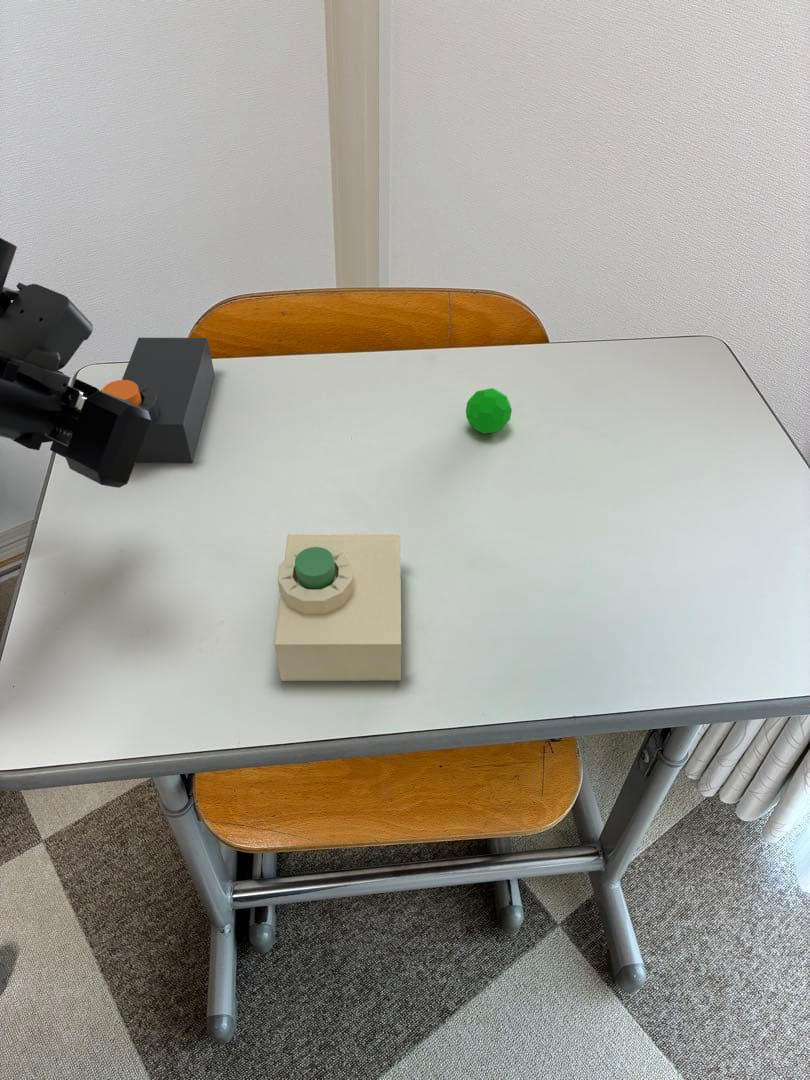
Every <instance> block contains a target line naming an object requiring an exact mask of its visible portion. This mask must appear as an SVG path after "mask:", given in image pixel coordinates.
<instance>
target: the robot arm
mask: <svg viewBox="0 0 810 1080" xmlns="http://www.w3.org/2000/svg"><path fill="white" fill-rule="evenodd" d="M17 249H18V246H16V245H15V244H13V243H12V242H10V241H8V240H6V239H4V238H1V237H0V438H5V439H9V440H11V441H13V442H14V443H17V444H19V445H21V446H22V447H25V448H27V449H30V450H35V451H40V450H41V447H42V444H45V443H51V444H50V448H49V450H50V451H51V452H53V453H55V454H57V455H59V456H61V457H62V458H65V460H66V463H67V465H68V468H69V469H70V470H72V471H74V472H76V473H78V474H79V475H81V476H83V477H85V478H86V479H89V480H91V481H93V482H95V483H97V484H99V485H101V486H105V487H112V488H117V489H120V488H122V487H124V486H127V484H128V483H129V481H130V478H131V475H132V472H133V470H134V467H135V465H136V463H135V462H136V459H137V457H138V454H139V451H140V449H141V446H142V443H143V441H144V438H145V435H146V433H147V430H148V427H149V425H150V422H151V418H150V415H149V412H148V410H146V409H143V408H141V407H139V406H137V405H135V404H132V403H130V402H128V401H126V400H124V399H121V398H118V397H116V396H113V395H111V394H108V393H105V392H101V390H100V389H99V388H98V387H95V385H92V384H89V383H87V382H85V381H83V380H81V379H78V378H74V382H73V385H69V383H70V380H71V376H69V375H67V374H65V373H63V371H60V370H62V369H63V368H64V367H65V366H67V364H68V363H69V362H70V361H71V359H72V358H73V356H74V355H75V353H76V352H77V351H78V349H79V348H80V346H81V345H82V344H83V343H84V341H87V340H88V339H89V338H90V337H91V335H92V333H93V330H94V325H93V324H92V322H91V321H90V320H89V319H88V317H86V316H85V314H84V313H83V312H82V311H81V310H80V309H79V308H78V307H77V306H76V305H75V304H74V303H73V302H72V300H70V299H69V298H68V297H67V296H66V294H65V295H64V294H62V293H60V292H57V291H55V290H52V289H50V288H47V287H45V286H42V285H40V284H37V283H32V284H28V285H27V284H24V283H22V282H18V283H17V284H16V285H15V286H16V289H18V290H14V289H11V288H8V287H6V286H5V283H6V280H7V277H8V274H9V273H10V269H11V266H12V264H13V260H14V257H15V254H16V252H17Z"/></svg>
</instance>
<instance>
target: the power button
mask: <svg viewBox="0 0 810 1080" xmlns="http://www.w3.org/2000/svg"><path fill="white" fill-rule="evenodd" d="M295 569H296V576H297V580H298V582H299V583H300V584H301V585H302V586H303V587H305V588H308V589H322V588H325V587H327V586H328V585H330V584H331V583H332V582H333V580H334V578H335V561H334V557H333V555H332V554H331V552H330V551H328V550H327V549H324V548H321V547H311V548H307V549H305V550H303V551H301V552H300V553H299V554H298V555H297V557H296V559H295Z"/></svg>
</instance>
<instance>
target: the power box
mask: <svg viewBox="0 0 810 1080" xmlns="http://www.w3.org/2000/svg"><path fill="white" fill-rule="evenodd" d="M286 537H287V538H286V544H285V545H286V546H285V553H284V554H285V555H284V559H283V560H282V562H280V564H279V566H278V575H277V583H278V589H279V594H280V596H279V604H278V611H277V619H276V626H275V627H276V629H275V636H274V650H275V655H276V660H277V661H276V662H277V667H278V670H279V671H278V672H279V677H280V681H281V682H288V681H289V682H319V681H321V682H325V681H326V682H327V681H330V682H331V681H333V682H336V681H338V682H339V681H342V682H344V681H353V682H354V681H357V682H358V681H359V682H360V681H361V682H362V681H363V682H364V681H371V682H372V681H401V679H402V586H401V585H402V582H401V578H402V577H401V535H400V534H287V536H286ZM311 547H321V548H324V549H327V550H328V551H330V552H331V554H332V555H333V557H334V561H335V578H334V580H333V582H332V583H331V584H330V585H328V586H327V587H325V588H322V589H308V588H305V587H303V586H302V585H301V584H300V583H299V582H298V580H297V576H296V569H295V559H296V557H297V555H298V554H299V553H300V552H301V551H303V550H305V549H307V548H311Z"/></svg>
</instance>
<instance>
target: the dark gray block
mask: <svg viewBox="0 0 810 1080" xmlns="http://www.w3.org/2000/svg"><path fill="white" fill-rule="evenodd" d="M121 378H122V379H121V380H130V381H133V382H134V383H136V384H137V386H138V388H139V392H140V395H141V399H142V404H141V406H140V407H141V408H143V409H146V410H148V412H149V415H150V418H151V422H150V425H149V427H148V430H147V433H146V435H145V438H144V441H143V443H142V446H141V449H140V451H139V454H138V457H137V459H136V462H135V464H136V463H138V464H139V463H145V464H147V463H151V464H153V463H157V464H158V463H159V464H160V463H161V464H162V463H163V464H164V463H165V464H166V463H168V464H169V463H170V464H171V463H176V464H177V463H179V464H183V463H185V464H186V463H187V464H189V463H193V460H194V458H195V453H196V449H197V445H198V442H199V438H200V434H201V430H202V426H203V421H204V417H205V414H206V410H207V406H208V404H209V403H208V402H209V398H210V396H211V391H212V387H213V383H214V379H215V369H214V363H213V358H212V354H211V348H210V343H209V338H208V337H138V338H137V341H136V343H135V345H134V347H133V351H132V353H131V354H130V358H129V361H128V363H127V365H126V368H125V371H124V373H123V375H122V377H121ZM100 391H101V392H102V389H100Z"/></svg>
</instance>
